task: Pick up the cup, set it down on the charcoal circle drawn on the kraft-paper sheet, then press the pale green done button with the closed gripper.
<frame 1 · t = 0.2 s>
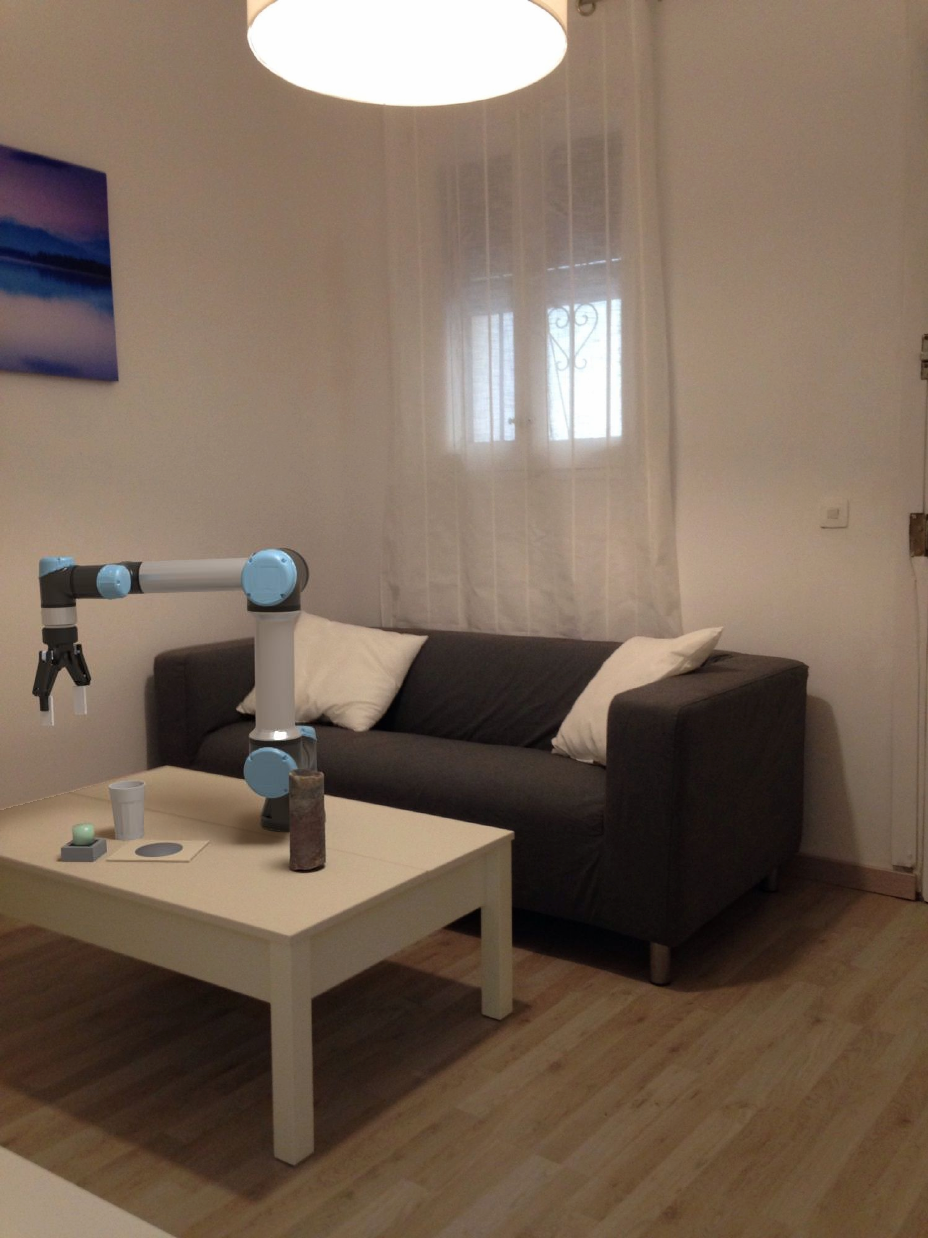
hand: (64, 719, 251), 27 cm above the table, fingers open, 13 cm apart
cup: (129, 837, 254), on the table
button: (83, 834, 239), point 5 cm above the table, slide at 0.0 cm
sheet: (159, 851, 242), on the table
button housing: (84, 856, 239), on the table
candle: (308, 868, 230), on the table
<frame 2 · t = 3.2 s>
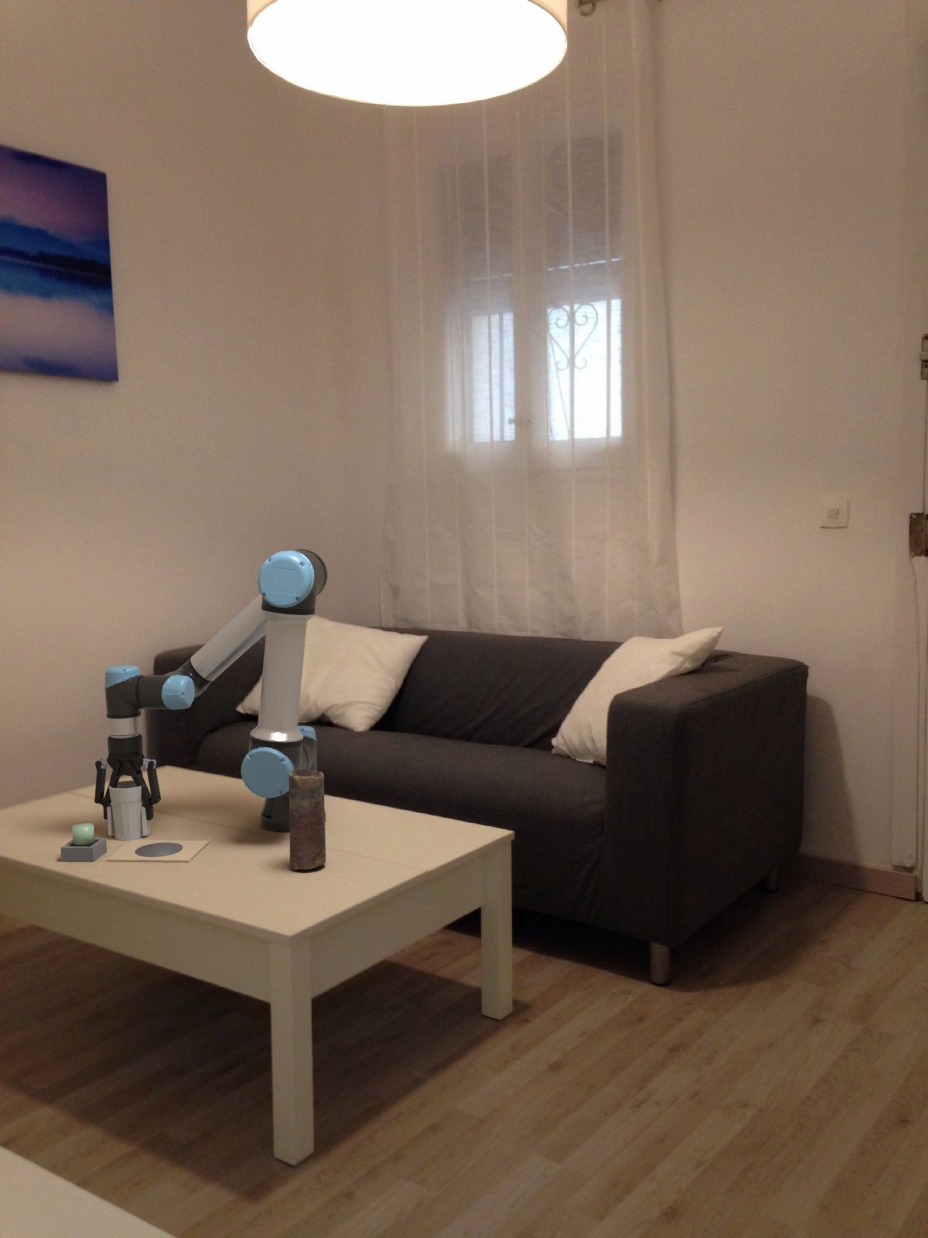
hand: (129, 833, 254), 1 cm above the table, fingers closed on cup, 7 cm apart
cup: (129, 837, 254), on the table, touching gripper
everything else where it was.
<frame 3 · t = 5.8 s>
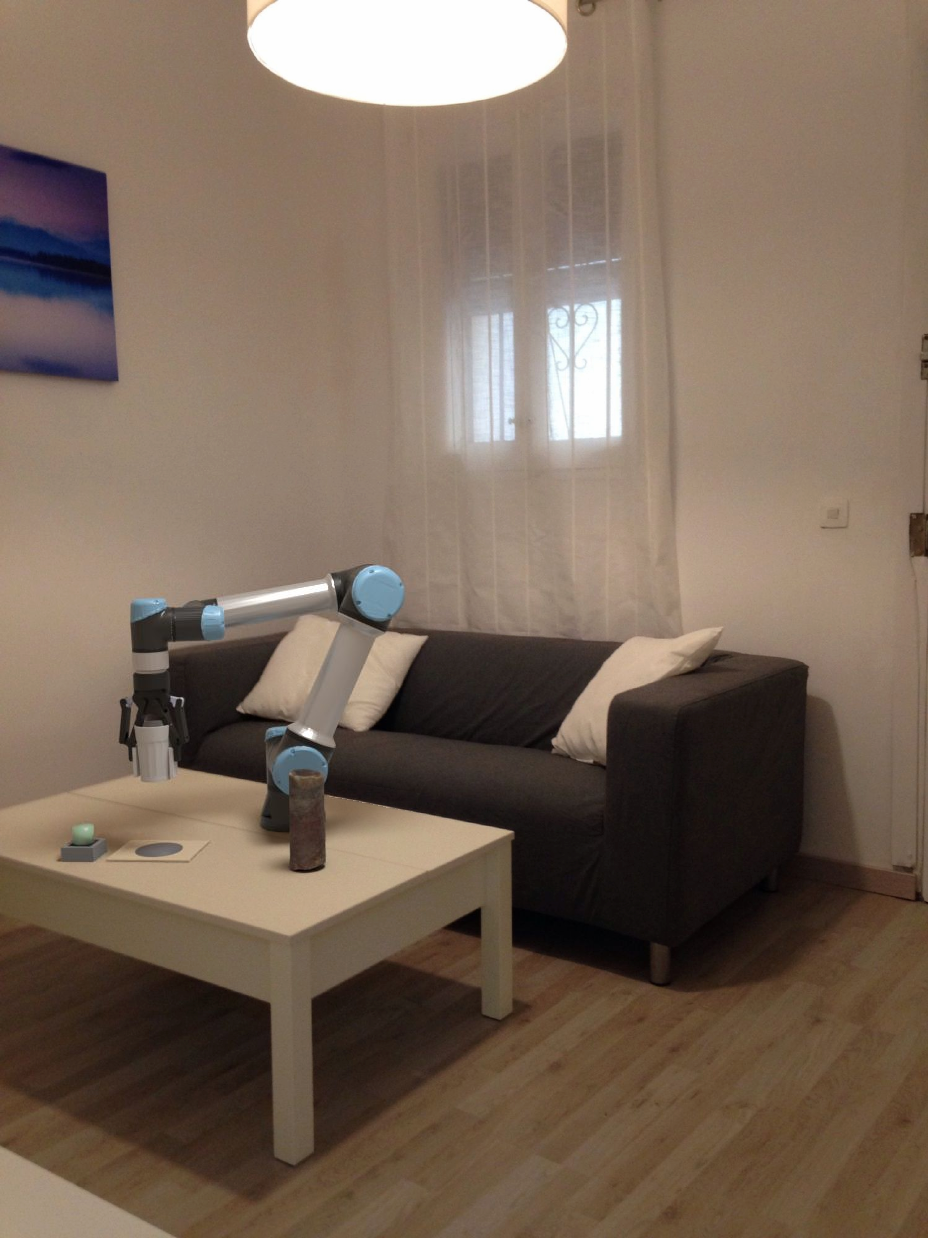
hand: (155, 776, 240), 17 cm above the table, fingers closed on cup, 7 cm apart
cup: (155, 780, 240), point 16 cm above the table, touching gripper
everything else where it was.
when the fingers open (3 cm above the table, at t = 8.7 s): cup drops 1 cm, resting on sheet.
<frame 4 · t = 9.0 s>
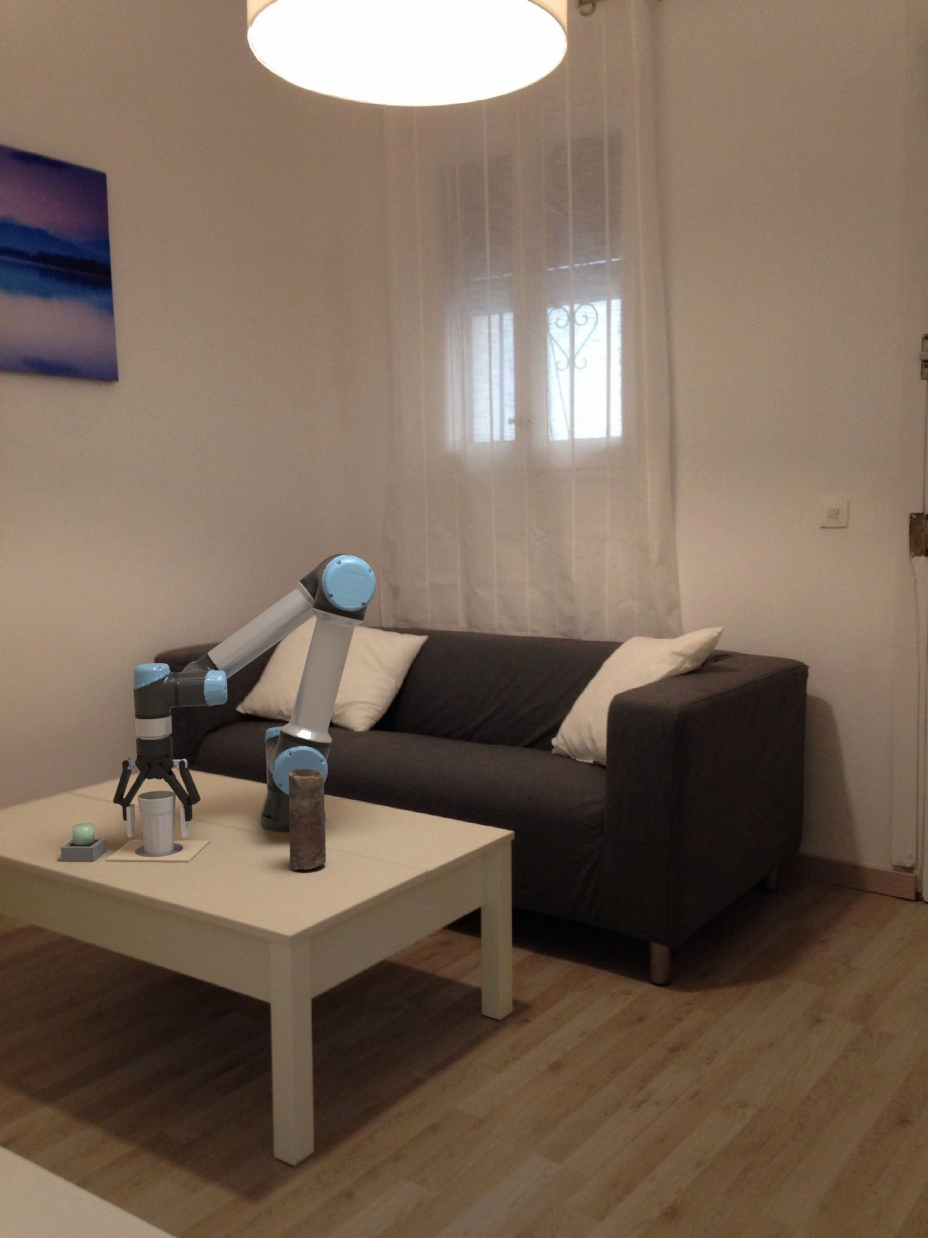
hand: (158, 835, 242), 4 cm above the table, fingers open, 11 cm apart
cup: (159, 850, 242), resting on sheet
everything else where it was.
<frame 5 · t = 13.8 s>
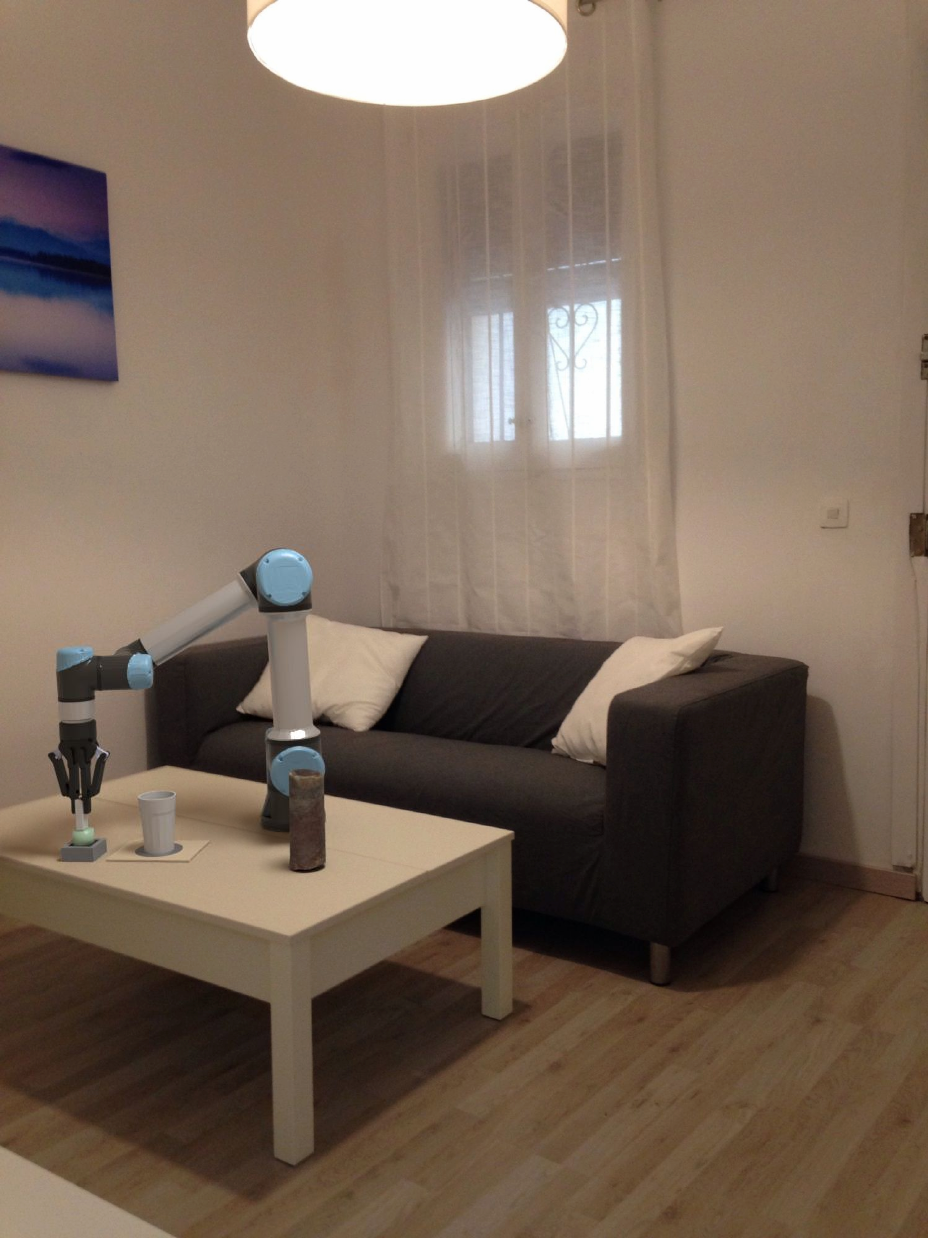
hand: (82, 828, 239), 6 cm above the table, fingers closed
button: (83, 837, 239), point 4 cm above the table, slide at 0.8 cm, touching gripper
everything else where it was.
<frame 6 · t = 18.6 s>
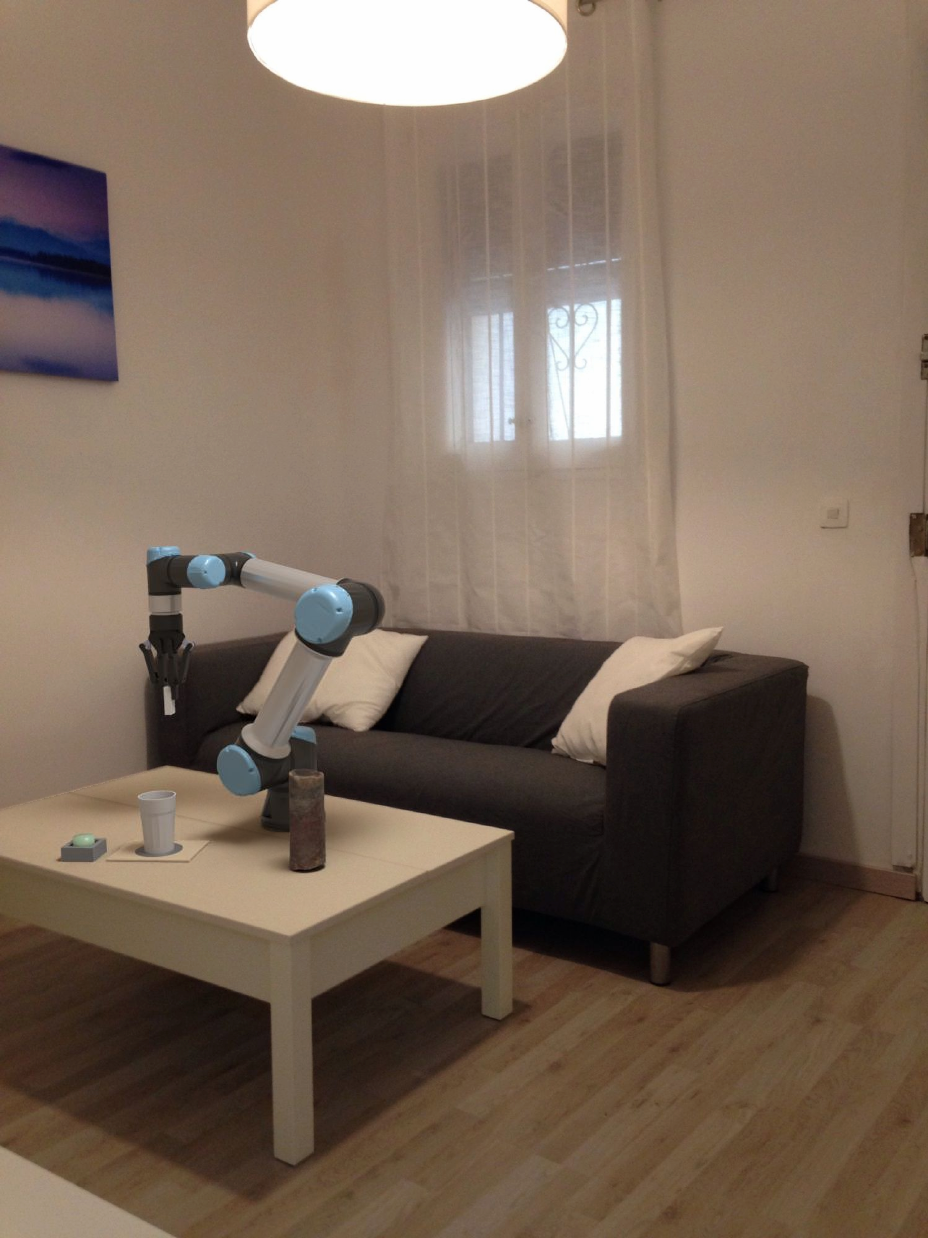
hand: (170, 713, 261), 26 cm above the table, fingers closed
button: (83, 844, 239), point 3 cm above the table, slide at 2.2 cm
everything else where it was.
at the end: cup inside the target area on the sheet (0.1 cm from its centre), point 0.3 cm above the sheet's base; cup tilted 0°; button slide at 2.2 cm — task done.
